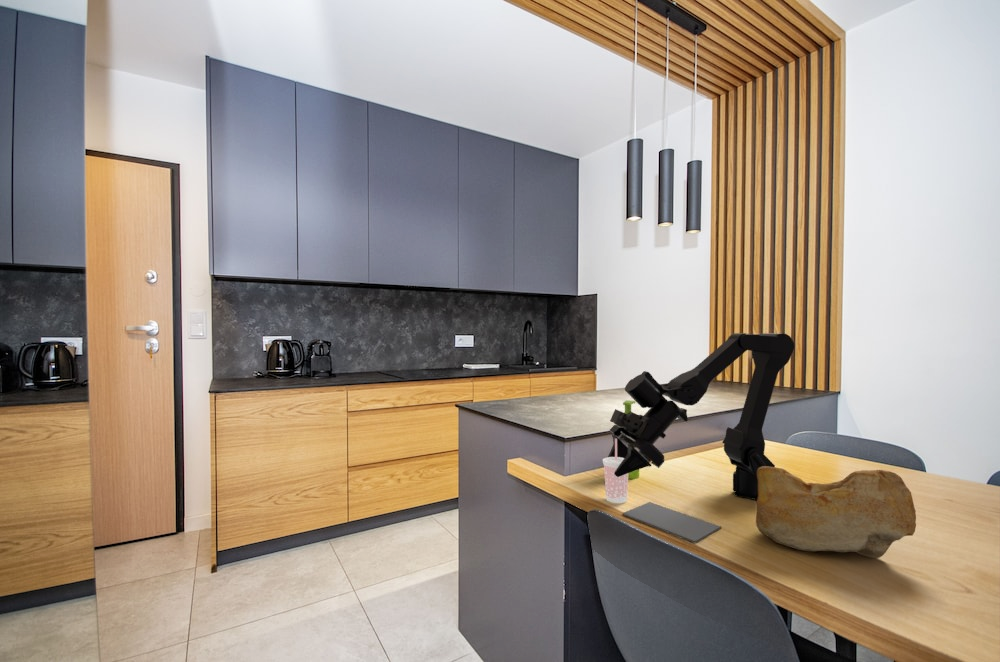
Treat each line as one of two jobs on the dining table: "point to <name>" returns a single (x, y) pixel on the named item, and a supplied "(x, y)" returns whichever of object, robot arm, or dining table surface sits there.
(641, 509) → the mat
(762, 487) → the rough brown rock
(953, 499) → the dining table surface
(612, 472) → the beverage cup
